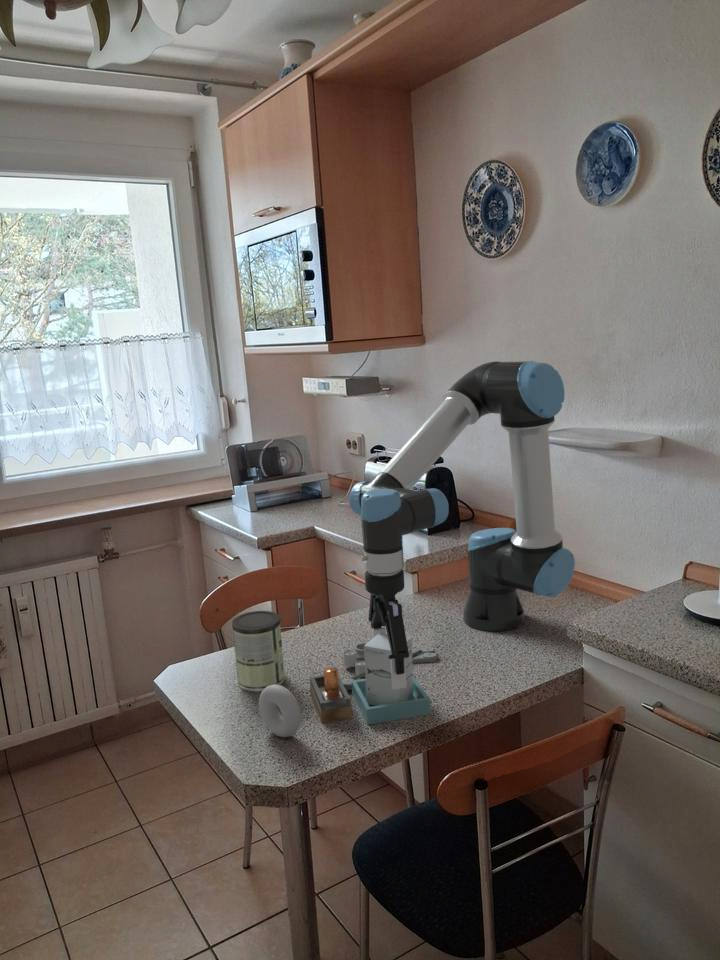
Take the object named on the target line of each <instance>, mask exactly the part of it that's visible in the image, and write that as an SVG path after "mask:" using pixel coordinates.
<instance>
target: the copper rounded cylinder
mask: <svg viewBox="0 0 720 960" xmlns="http://www.w3.org/2000/svg"><path fill="white" fill-rule="evenodd" d="M323 675H324V683H325V691H324V692H322V697H323V700H324V701H326V700H332V699H338V698H343V696H342V694H341V692H340V690H339V677H340V675H339V668H337V667H333V666H331V667H326V668H324V670H323ZM338 675H339V676H338Z"/></svg>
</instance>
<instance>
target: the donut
mask: <svg viewBox="0 0 720 960" xmlns="http://www.w3.org/2000/svg"><path fill="white" fill-rule="evenodd" d="M260 692H261V693H260V695H259V699H258V709H259V714H260V717H261V719H262V721H263V723H264V724H265V726H266V728H267V729H268V730H269V731H270V732H271V733H272V734H274V735H275V736H277V737H280V738H288V737H292V736H293V735H295V734H296V733H297V732H298V731H299V729H300V726H301V724H302V723H301V721H302V714H301V708H300V704H299V702H298V701H297V699H296V697H295V696H294V694H293V693H292V692H291V691H290V690H289V689H288V688H286V687H285V686H284V685H282V684H281V685H276V684H273V685H270V686H267V687H266V688H265V689H264V690H263V691H260ZM279 710H280V711H279Z"/></svg>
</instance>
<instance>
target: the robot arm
mask: <svg viewBox="0 0 720 960" xmlns="http://www.w3.org/2000/svg"><path fill="white" fill-rule="evenodd" d="M564 401H565V385H564V381H563V379H562V377H561V375H560V373H559V372H558V370H556V369H555V368H554V367H553V366H552V365H551V364H549V363H547V362H536V361H533V360H531V361H529V360H528V361H527V360H525V361H524V360H523V361H490V362H485V363H483V364H480V365H478V366H476V367H475V368H473V369H472V370H471V369H470V371H468V372H467V373H466V374H464V375H463V376H462V377H460V378H459V379H457V381H456V382H454V383H453V385H452V386H451V387H450V388H449V389H448V390H447V391H446V392H445V393H444V394H443V397H442V403H441V404H440V405H439V406H438V407H437V408H436V410H435V411H434V412H433V413H432V414H431V415H430V416H429V417H428V419H426V421H424V423H423V424H422V425H421V426H420V427H419V428H418V429H417V430H416V431H415V432H414V433H413V434H412V436H410V438H409V439H408V440H407V441H406V443H405V444H404V445H403V446H402V447H401V448H400V449H399V450H398V451H397V452H396V453H395V454H394V456H393V457H392V458H391V459H390V460H389V461H388V462H387V463H386V465H384V467H383V468H382V469H381V470H380V471H379V472H378V473H377V474H376V475H375V477H373V478H372V480H371V481H370V480H369V481H368V480H366V481H359V482H357V483H355V484H354V485H353V487H352V488H351V490H350V492H349V496H348V503H349V507H350V509H351V511H352V512H353V513H355V515H358V516H360V519H361V530H362V531H361V532H362V545H363V546H362V547H363V548H362V549H363V555H362V556H361V557H360V559H361V561H362V562H364V570H365V572H364V582H365V584H364V585H365V590H366V592H368V593H369V594H370V598H369V599H370V600H369V608H368V609H369V610H368V618H367V619H368V621H369V622H370V627H371V628H372V629H371V636H372V638H371V639H373V638H374V637H375V636H376V635H377V634H379V633H384V634H387V635H388V640H389V644H390V649H391V653H392V655H389V657H388V658H389V659H390V661H391V681H392V689H393V690H395V689H401V688H407V684H406V662H405V658H408V657H409V652H408V646H407V641H406V630H405V624H404V617H403V609H402V608H403V606H402V603H399V601H398V599H397V598H396V595H397V594H398V593H400V592H402V591H404V588H405V573H404V570H403V569H404V567H405V563H404V562H405V560H404V545H403V539H404V538H403V536H406V535H408V534H409V535H410V534H412V533H416V532H419V531H423V530H426V529H432V528H434V527H436V526H438V525H440V524H442V523H444V522H445V521H446V520H447V518H448V516H449V509H450V508H449V502H448V499H447V497H446V495H445V494H444V493H443V492H442V490H440V489H438V488H435V487H433V488H432V487H431V488H423V489H421V490H413V488H414V487H415V485H416V484H417V483H418V482H419V481H420V480H421V479H422V478H423V476H424V475H425V474H426V473H427V472H428V471H429V470H430V469H431V468H432V466H433V465H434V464H435V463H436V462H437V461H438V460H439V458H440V457H441V456H442V455H443V453H444V452H445V451H446V450H447V449H448V448H449V447H450V446H451V444H452V443H454V441H455V440H456V439H457V437H458V436H459V435H460V434H462V432H463V431H464V430H465V429H466V427H467V426H469V425H471V426H472V425H475V424H476V423H477V422H478V421H479V420H480V418H482V417H484V416H485V415H490V414H496V415H497V414H499V415H500V425H501V427H502V428H503V429H504V430H505V431H507V432H508V438H509V439H508V441H509V451H510V452H509V453H510V463H511V464H510V465H511V467H510V468H511V477H512V488H513V489H512V490H513V500H514V501H513V502H514V503H513V504H514V513H515V514H514V516H515V526H516V530H515V529H514V528H513V527H512V528H510V527H495V528H487V529H486V528H485V529H481V530H477V531H476V532H474V533H471V535H470V536H469V538H468V549H467V553H468V554H467V555H468V556H467V557H468V558H467V559H468V579H469V582H468V583H469V592H468V594H467V597H466V600H465V604H464V607H463V610H462V614H463V615H462V619H463V622H464V624H466V625H467V626H468V627H471V628H473V629H476V630H480V631H487V632H500V631H501V632H504V631H510V630H514V629H517V628H519V627H521V626H522V625H523V624H524V623H525V609H524V607H523V604H522V601H521V598H520V596H519V593H518V592H519V591H518V590H520V591H525V592H528V593H531V594H534V595H536V596H539V597H540V596H542V597H543V596H544V597H548V598H554V597H557V596H559V595H560V594H562V593H563V592H565V590H566V589H567V588H568V586H569V584H570V582H571V581H572V578H573V576H574V571H575V569H576V568H575V567H576V560H575V556H574V554H573V553H572V551H570V550H569V549H568V548H567V547H565V548H564V545H563V535H562V534H561V533H560V532H558V531H557V530H556V528H555V527H556V526H555V525H556V524H555V512H554V511H555V510H554V499H553V498H554V496H553V484H552V483H553V482H552V468H551V467H552V464H551V453H550V437H549V429H550V427H552V425H553V424H554V423H555V416H557V415H558V414H559V413H560V412H561V410H562V408H563V403H564Z"/></svg>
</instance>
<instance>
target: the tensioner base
mask: <svg viewBox="0 0 720 960" xmlns="http://www.w3.org/2000/svg"><path fill="white" fill-rule="evenodd" d="M338 676H339V690H340V692H341V694H342V696H343V698H338V699H332V700H326V701H324V700H323V697H322V692H324V691H325V683H324V674H322V675H313V676H309V692H310V693H309V694H310V698H311V700H312V702H313V705H314V707H315V710H316V712H317V715H318V717H319V720H320V723H321V724H324V723H330V722H334V721H335V722H337V721H340V720H341V721H342V720H347V719H352V718H353V715H352V714H353V712H352V705H351V697H350V695H349V693H348V690H346V689H345V687H344V685H343V683H342V681H341V677H340V675H339V674H338Z"/></svg>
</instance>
